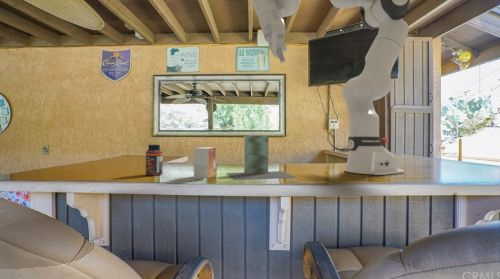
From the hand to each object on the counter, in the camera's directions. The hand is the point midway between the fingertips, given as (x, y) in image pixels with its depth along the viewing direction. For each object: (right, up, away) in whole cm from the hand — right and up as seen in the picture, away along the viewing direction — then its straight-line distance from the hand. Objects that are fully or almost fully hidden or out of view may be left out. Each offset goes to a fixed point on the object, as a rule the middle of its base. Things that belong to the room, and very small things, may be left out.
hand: (283, 56), depth 104 cm
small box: (-28, -44, -4) cm, 53 cm away
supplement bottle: (-48, -44, +1) cm, 65 cm away
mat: (-9, -44, -4) cm, 45 cm away
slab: (-10, -43, +1) cm, 44 cm away
